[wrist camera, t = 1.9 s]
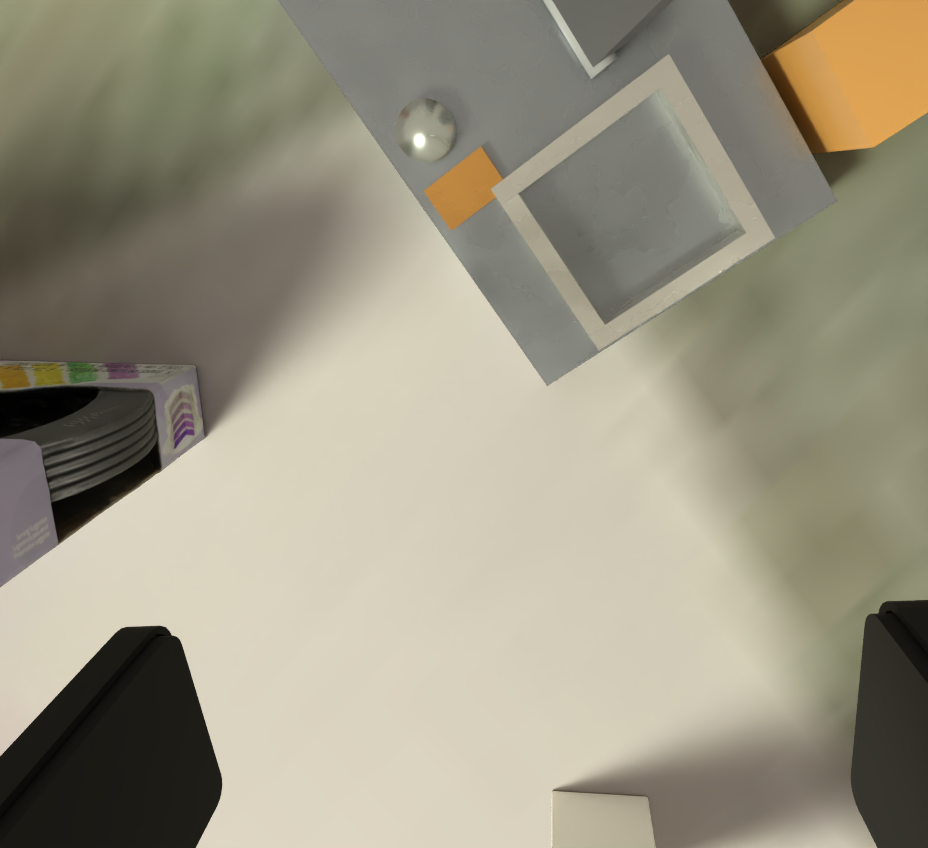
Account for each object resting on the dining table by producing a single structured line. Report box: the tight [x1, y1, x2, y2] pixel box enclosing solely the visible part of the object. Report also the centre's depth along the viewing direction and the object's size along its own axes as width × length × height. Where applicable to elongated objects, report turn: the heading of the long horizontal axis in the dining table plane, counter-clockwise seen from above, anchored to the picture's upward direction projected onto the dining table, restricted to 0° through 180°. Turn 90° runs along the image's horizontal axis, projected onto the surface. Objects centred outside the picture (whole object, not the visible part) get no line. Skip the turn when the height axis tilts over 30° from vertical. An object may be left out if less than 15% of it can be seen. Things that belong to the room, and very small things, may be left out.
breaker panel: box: [278, 0, 837, 386], centre depth 27 cm, size 14×28×4 cm, turn 36°
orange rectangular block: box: [761, 0, 928, 154], centre depth 25 cm, size 4×4×6 cm
